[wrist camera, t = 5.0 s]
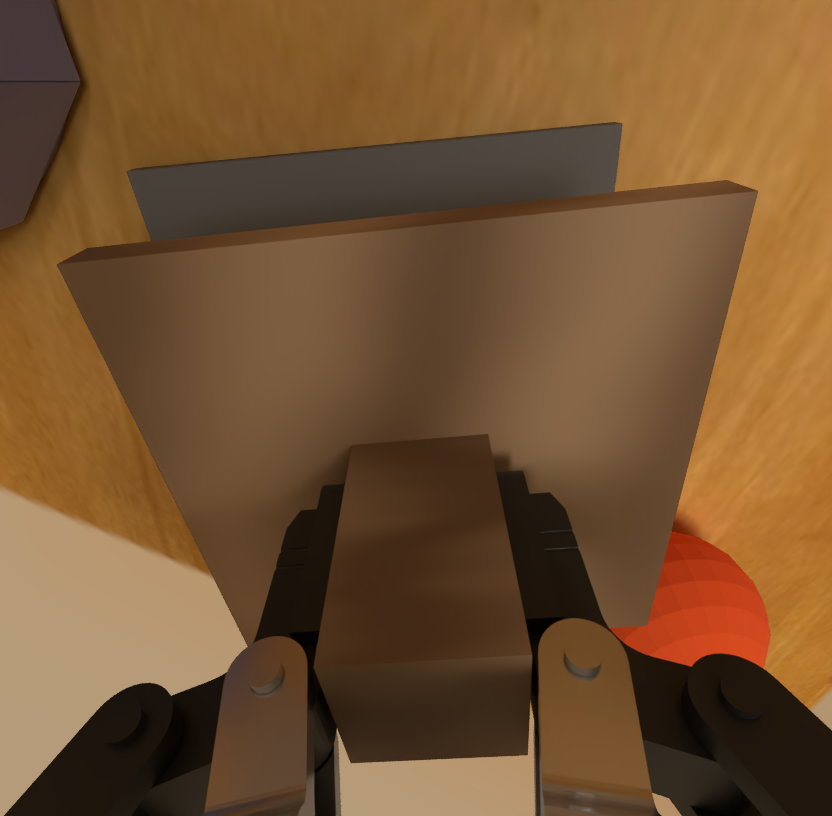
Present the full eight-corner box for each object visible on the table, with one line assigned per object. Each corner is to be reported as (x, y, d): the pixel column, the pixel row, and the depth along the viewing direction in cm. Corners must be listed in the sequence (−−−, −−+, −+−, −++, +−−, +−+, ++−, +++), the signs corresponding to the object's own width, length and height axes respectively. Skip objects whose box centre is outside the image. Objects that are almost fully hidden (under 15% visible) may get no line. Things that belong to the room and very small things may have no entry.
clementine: (561, 614, 27) (606, 766, 21) (528, 529, 23) (571, 682, 17) (718, 576, 25) (814, 728, 19) (708, 478, 22) (821, 627, 16)
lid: (726, 179, 9) (1108, 311, 4) (634, 596, 16) (737, 841, 11) (87, 248, 10) (-259, 432, 5) (257, 619, 16) (187, 860, 11)
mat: (615, 122, 14) (622, 123, 14) (575, 471, 21) (579, 480, 21) (136, 168, 15) (126, 171, 14) (250, 495, 22) (247, 505, 21)
